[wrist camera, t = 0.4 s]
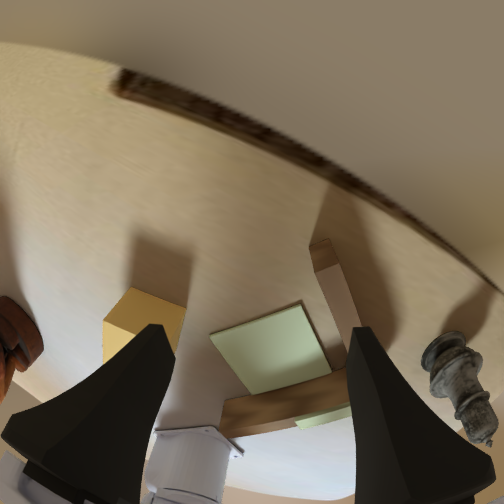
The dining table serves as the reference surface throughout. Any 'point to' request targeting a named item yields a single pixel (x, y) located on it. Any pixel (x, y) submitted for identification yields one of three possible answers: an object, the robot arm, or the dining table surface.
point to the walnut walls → (308, 392)
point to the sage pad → (273, 351)
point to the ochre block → (139, 320)
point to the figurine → (16, 342)
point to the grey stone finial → (461, 384)
